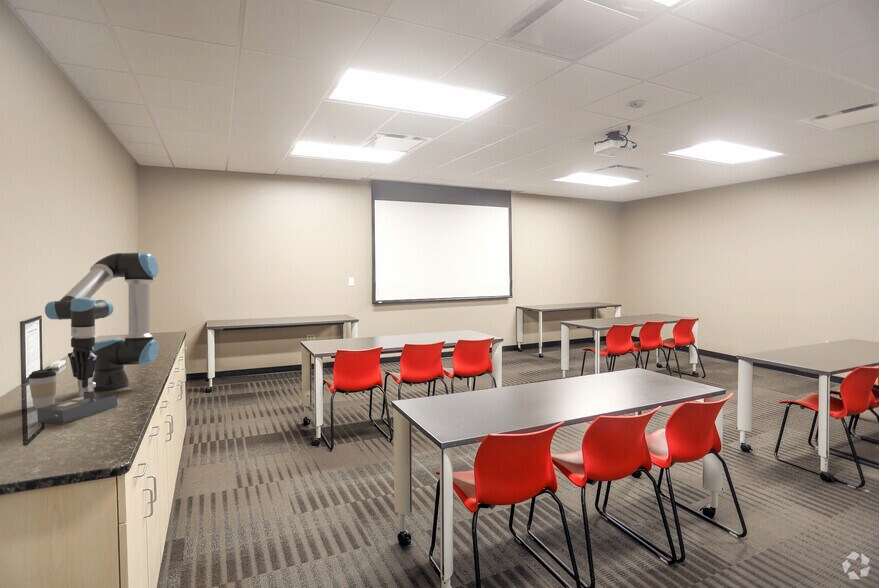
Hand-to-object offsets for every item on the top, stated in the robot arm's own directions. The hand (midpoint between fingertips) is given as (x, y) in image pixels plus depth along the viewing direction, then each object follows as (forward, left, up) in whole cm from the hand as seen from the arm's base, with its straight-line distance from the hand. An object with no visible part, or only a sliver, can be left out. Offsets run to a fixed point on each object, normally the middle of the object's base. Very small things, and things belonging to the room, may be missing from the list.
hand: (83, 395), depth 184 cm
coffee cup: (-3, -25, -7) cm, 26 cm away
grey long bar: (0, +3, +1) cm, 3 cm away
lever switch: (+3, +1, -7) cm, 7 cm away
